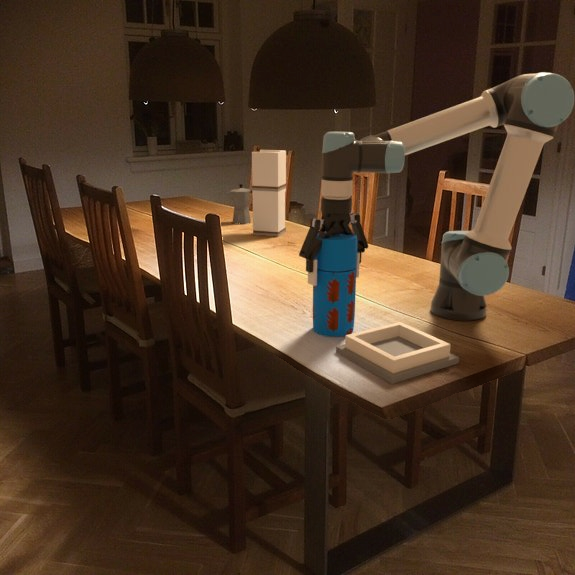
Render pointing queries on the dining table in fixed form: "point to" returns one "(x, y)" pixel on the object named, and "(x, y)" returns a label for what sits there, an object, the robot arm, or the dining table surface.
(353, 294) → the thermos
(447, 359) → the holder
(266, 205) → the cream tall block
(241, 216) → the coffeepot
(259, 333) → the dining table surface
